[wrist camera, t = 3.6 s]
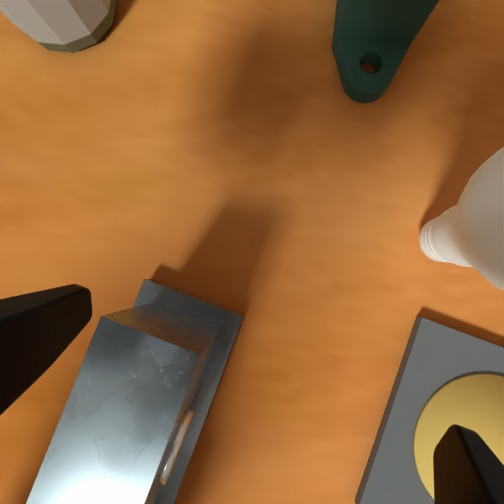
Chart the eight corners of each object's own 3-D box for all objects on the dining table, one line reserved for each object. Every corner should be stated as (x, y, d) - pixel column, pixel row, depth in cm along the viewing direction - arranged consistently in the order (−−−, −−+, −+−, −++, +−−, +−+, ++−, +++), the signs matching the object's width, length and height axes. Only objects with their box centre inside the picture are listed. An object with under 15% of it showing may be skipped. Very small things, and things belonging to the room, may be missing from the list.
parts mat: (545, 577, 17) (559, 592, 16) (354, 501, 18) (359, 511, 17) (602, 385, 18) (618, 390, 17) (416, 316, 18) (424, 318, 18)
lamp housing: (169, 514, 18) (112, 668, 11) (73, 474, 18) (-43, 599, 11) (243, 314, 19) (235, 338, 12) (150, 279, 19) (86, 281, 12)
